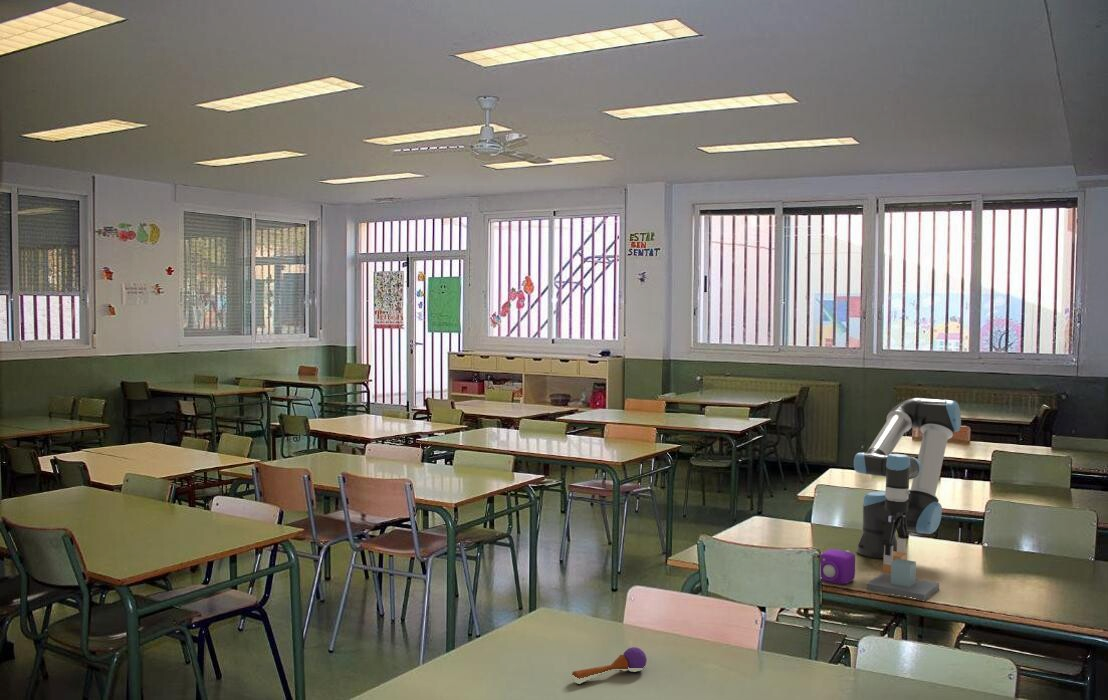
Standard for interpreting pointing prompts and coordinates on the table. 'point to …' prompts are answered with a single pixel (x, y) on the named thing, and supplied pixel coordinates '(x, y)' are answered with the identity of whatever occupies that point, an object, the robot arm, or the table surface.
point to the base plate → (903, 587)
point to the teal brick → (903, 572)
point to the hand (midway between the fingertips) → (894, 560)
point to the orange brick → (895, 556)
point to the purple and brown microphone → (618, 663)
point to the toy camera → (838, 566)
